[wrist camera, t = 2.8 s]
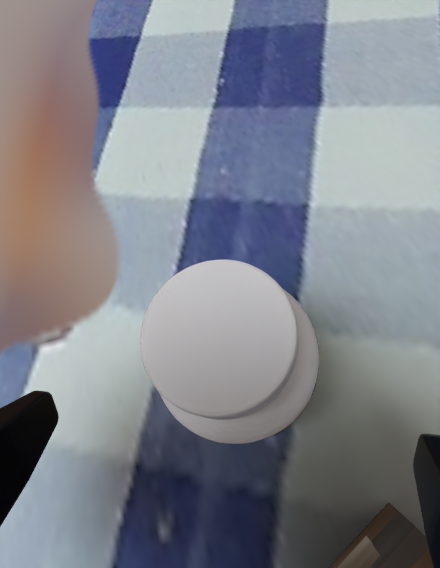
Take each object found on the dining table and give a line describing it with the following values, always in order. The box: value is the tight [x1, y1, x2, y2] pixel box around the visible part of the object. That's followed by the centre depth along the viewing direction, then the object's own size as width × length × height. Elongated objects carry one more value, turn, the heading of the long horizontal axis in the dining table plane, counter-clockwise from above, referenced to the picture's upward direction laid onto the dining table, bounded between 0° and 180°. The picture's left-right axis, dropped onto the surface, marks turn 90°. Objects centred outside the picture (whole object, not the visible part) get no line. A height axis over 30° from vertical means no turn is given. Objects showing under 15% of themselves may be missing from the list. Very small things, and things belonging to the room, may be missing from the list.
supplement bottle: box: [140, 260, 319, 444], centre depth 13 cm, size 5×5×10 cm
